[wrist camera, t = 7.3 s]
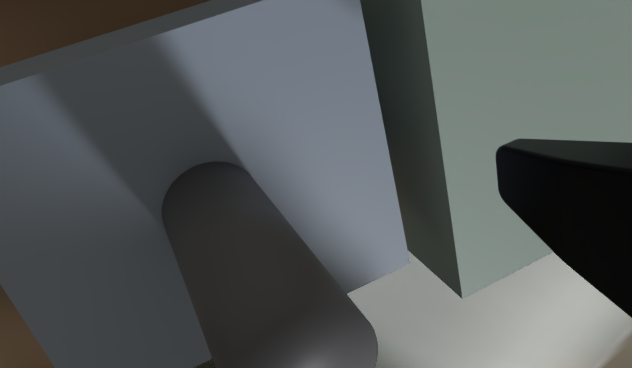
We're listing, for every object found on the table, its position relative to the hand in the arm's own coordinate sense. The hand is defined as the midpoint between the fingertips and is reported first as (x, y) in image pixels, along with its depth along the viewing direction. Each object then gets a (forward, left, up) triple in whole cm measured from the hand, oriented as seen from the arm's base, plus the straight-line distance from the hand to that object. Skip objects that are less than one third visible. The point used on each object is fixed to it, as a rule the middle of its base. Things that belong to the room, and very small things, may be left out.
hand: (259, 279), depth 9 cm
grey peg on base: (0, 0, -6) cm, 6 cm away
